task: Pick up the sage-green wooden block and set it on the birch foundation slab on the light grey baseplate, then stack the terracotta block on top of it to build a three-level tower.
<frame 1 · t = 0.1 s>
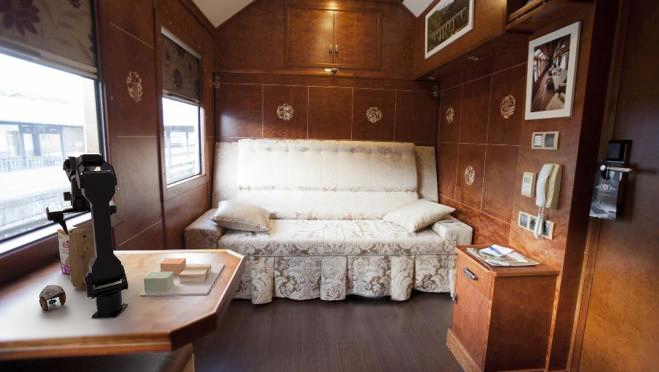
hand: (83, 231, 112), 15 cm above the table, tool pointing down, fingers open, 9 cm apart
candy bar box: (79, 273, 115), on the table
helmet: (53, 308, 92), on the table
block: (94, 284, 107), on the table
terracotta block: (173, 272, 116), point 1 cm above the table, touching baseplate
sage block: (159, 288, 104), point 1 cm above the table, touching baseplate
foundation slab: (196, 277, 113), point 1 cm above the table, touching baseplate
baseplate: (187, 278, 113), on the table
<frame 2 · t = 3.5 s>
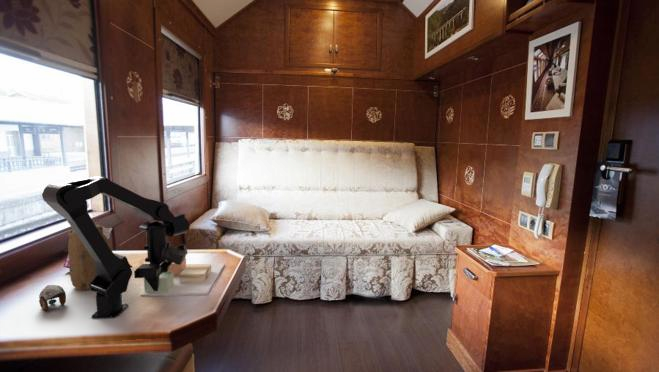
hand: (159, 286, 104), 1 cm above the table, tool pointing down, fingers closed on sage block, 5 cm apart
candy bar box: (79, 270, 115), point 1 cm above the table, touching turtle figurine
sage block: (159, 288, 104), point 1 cm above the table, touching baseplate, gripper
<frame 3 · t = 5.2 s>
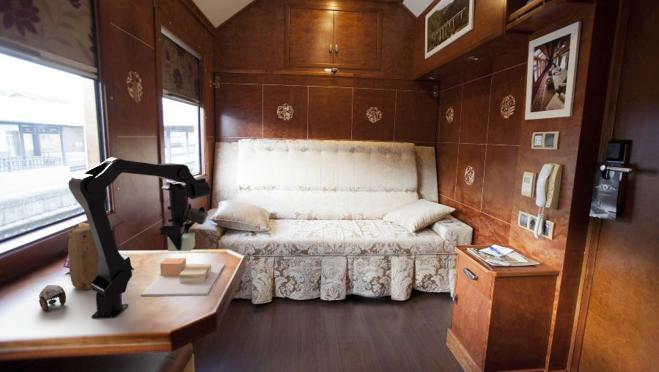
hand: (182, 247, 108), 13 cm above the table, tool pointing down, fingers closed on sage block, 5 cm apart
sage block: (182, 248, 108), point 12 cm above the table, touching gripper
everything else where it was.
when the fingers open (5 cm above the table, at t = 7.2 s): sage block drops 1 cm, resting on foundation slab.
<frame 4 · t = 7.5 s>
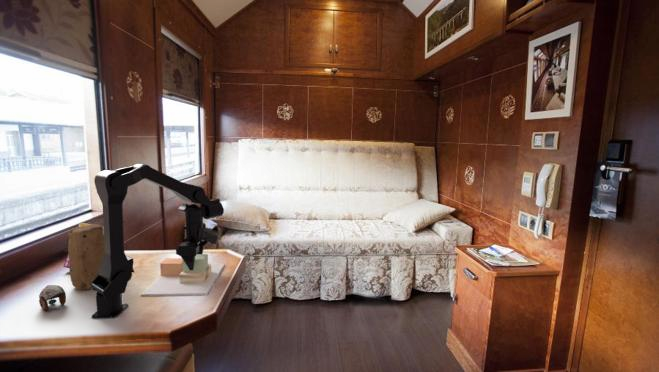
hand: (195, 265, 112), 5 cm above the table, tool pointing down, fingers open, 8 cm apart
sage block: (195, 269, 112), point 4 cm above the table, touching foundation slab
foundation slab: (196, 277, 113), point 1 cm above the table, touching baseplate, sage block
everything else where it was.
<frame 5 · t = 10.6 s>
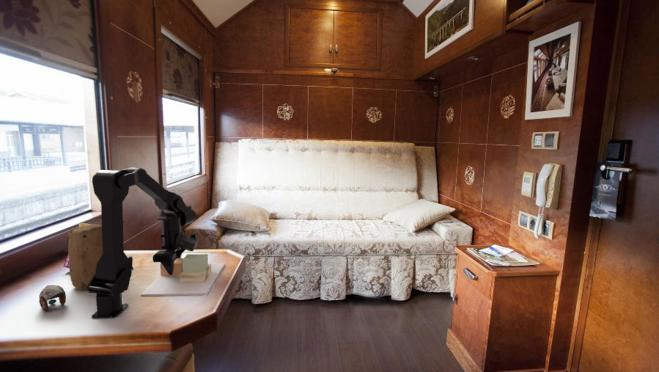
hand: (173, 271, 116), 1 cm above the table, tool pointing down, fingers closed on terracotta block, 5 cm apart
candy bar box: (79, 270, 115), point 1 cm above the table
terracotta block: (173, 272, 116), point 1 cm above the table, touching baseplate, gripper
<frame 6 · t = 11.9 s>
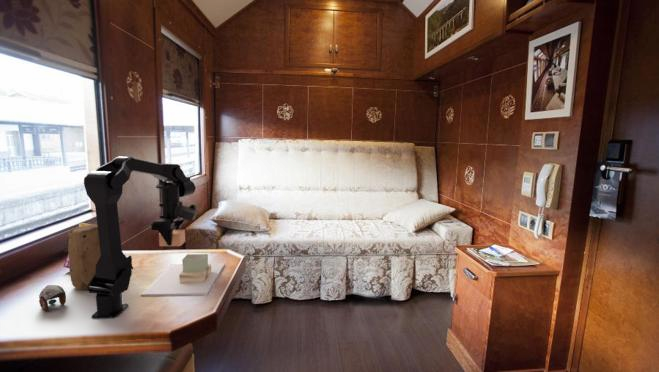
hand: (172, 242, 114), 12 cm above the table, tool pointing down, fingers closed on terracotta block, 5 cm apart
candy bar box: (79, 270, 115), point 1 cm above the table, touching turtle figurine
terracotta block: (172, 243, 114), point 11 cm above the table, touching gripper
when the fingers open (9 cm above the table, at t = 13.6 s): terracotta block stays where it is, resting on sage block.
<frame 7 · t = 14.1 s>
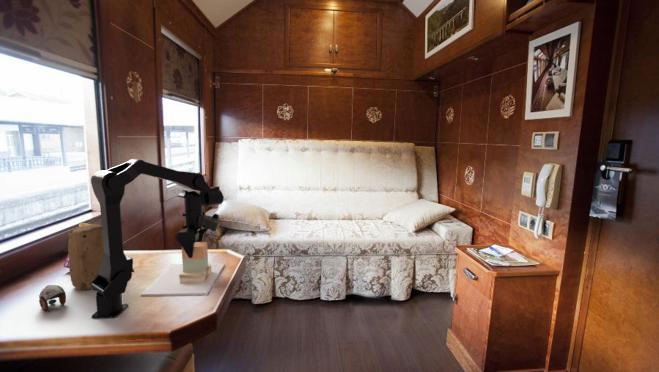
hand: (195, 252, 111), 9 cm above the table, tool pointing down, fingers open, 9 cm apart
terracotta block: (195, 256, 112), point 8 cm above the table, touching sage block
sage block: (195, 269, 112), point 4 cm above the table, touching foundation slab, terracotta block
everything else where it was.
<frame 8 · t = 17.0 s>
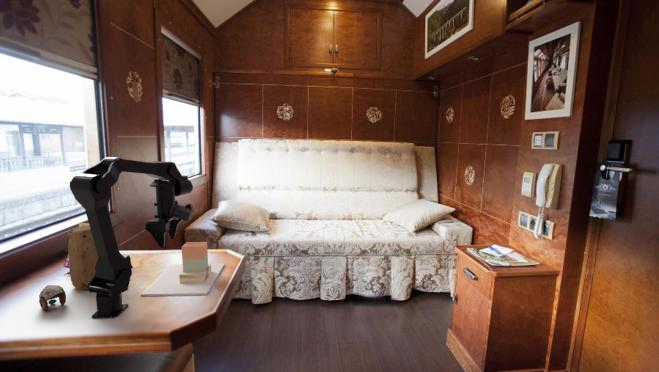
hand: (167, 243, 110), 13 cm above the table, tool pointing down, fingers open, 9 cm apart
nothing on the table moved.
at the end: sage block 0.0 cm off-centre on the foundation slab, point 3.0 cm above the foundation slab's base; terracotta block 0.1 cm off-centre on the foundation slab, point 7.5 cm above the foundation slab's base; terracotta block tilted 0° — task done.
